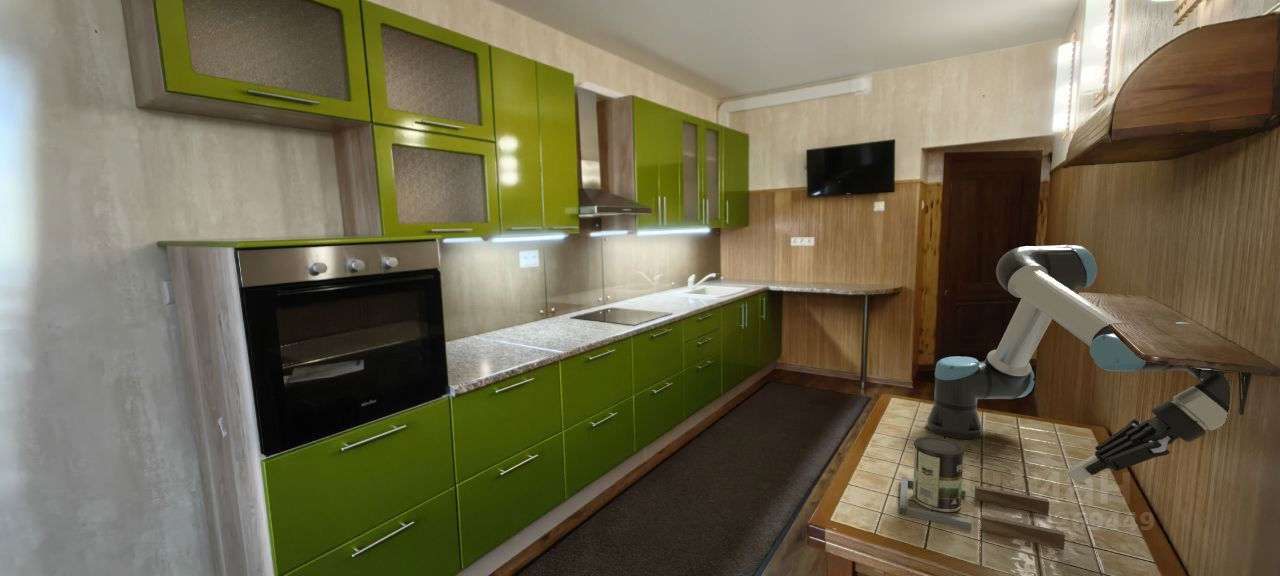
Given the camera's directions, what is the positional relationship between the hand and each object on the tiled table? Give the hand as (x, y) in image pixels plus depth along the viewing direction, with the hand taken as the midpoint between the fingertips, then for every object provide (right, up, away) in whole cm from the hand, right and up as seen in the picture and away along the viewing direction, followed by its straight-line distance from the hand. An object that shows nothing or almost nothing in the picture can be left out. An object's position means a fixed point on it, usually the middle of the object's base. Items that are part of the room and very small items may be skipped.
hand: (1071, 476), depth 108 cm
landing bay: (-22, -11, +13) cm, 28 cm away
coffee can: (-21, -11, +14) cm, 27 cm away
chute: (-8, -12, +5) cm, 15 cm away
